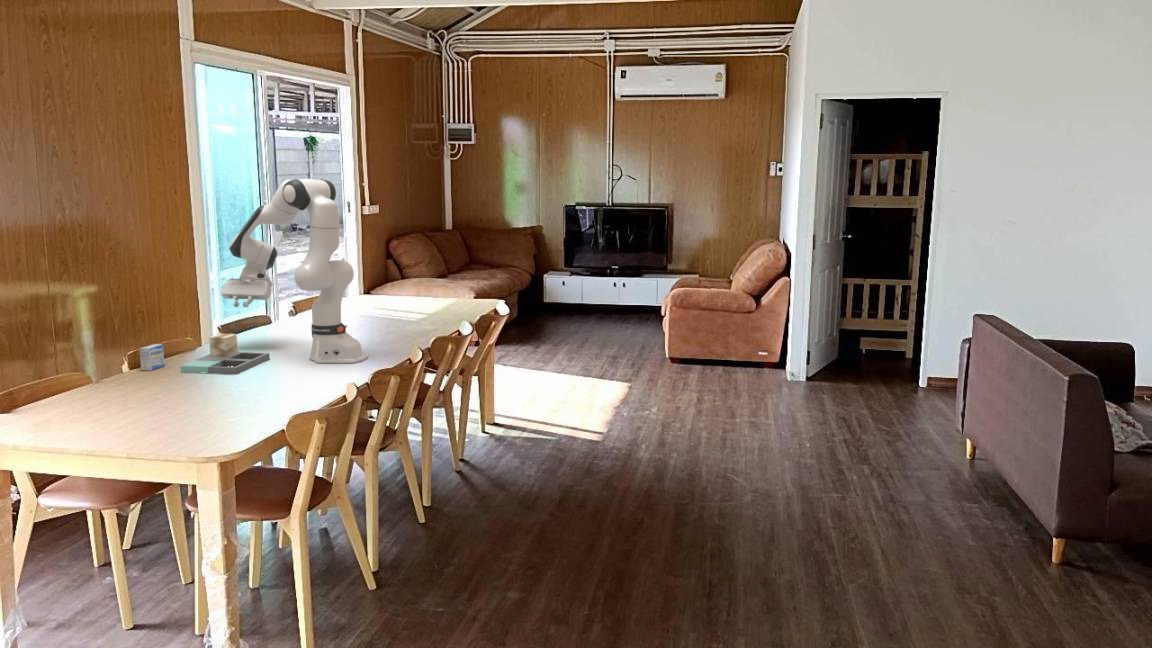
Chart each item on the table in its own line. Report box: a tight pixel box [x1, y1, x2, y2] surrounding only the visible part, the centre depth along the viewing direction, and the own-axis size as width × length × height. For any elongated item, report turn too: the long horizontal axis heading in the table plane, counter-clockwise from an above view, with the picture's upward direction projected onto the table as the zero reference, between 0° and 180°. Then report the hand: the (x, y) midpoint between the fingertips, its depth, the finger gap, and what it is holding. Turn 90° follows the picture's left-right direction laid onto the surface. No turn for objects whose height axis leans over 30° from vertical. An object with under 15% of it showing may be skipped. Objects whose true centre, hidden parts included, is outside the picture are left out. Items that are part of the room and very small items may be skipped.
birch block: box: [208, 332, 239, 357], centre depth 350 cm, size 7×8×8 cm
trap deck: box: [180, 351, 271, 375], centre depth 342 cm, size 22×26×2 cm
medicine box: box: [139, 343, 166, 372], centre depth 336 cm, size 8×4×9 cm, turn 168°
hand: (240, 306), depth 361 cm, fingers open, 3 cm apart
